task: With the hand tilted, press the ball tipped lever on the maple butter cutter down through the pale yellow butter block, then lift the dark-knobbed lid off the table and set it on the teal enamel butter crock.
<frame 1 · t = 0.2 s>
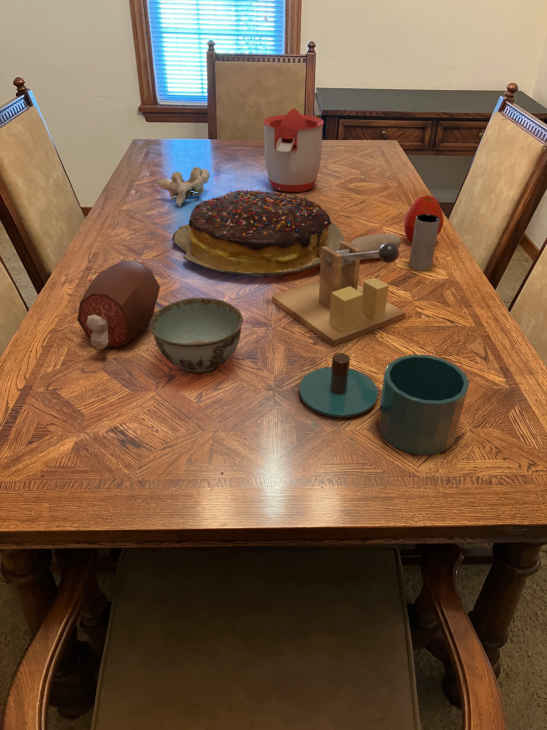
bowl: (200, 364, 89), on the table
ball tipped lever: (363, 255, 92), point 13 cm above the table, hinge at 25.0°
butter: (344, 324, 96), point 1 cm above the table, touching cutter
crock: (416, 428, 77), on the table
cake: (260, 246, 126), on the table
apple: (420, 243, 127), on the table
stone: (372, 258, 121), on the table
meat: (124, 329, 97), on the table
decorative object: (184, 200, 149), on the table
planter: (419, 267, 117), on the table
citrus juicer: (291, 188, 157), on the table
crock lid: (338, 392, 82), point 1 cm above the table
cutter: (336, 309, 103), on the table
butter pat: (372, 314, 99), point 1 cm above the table, touching cutter
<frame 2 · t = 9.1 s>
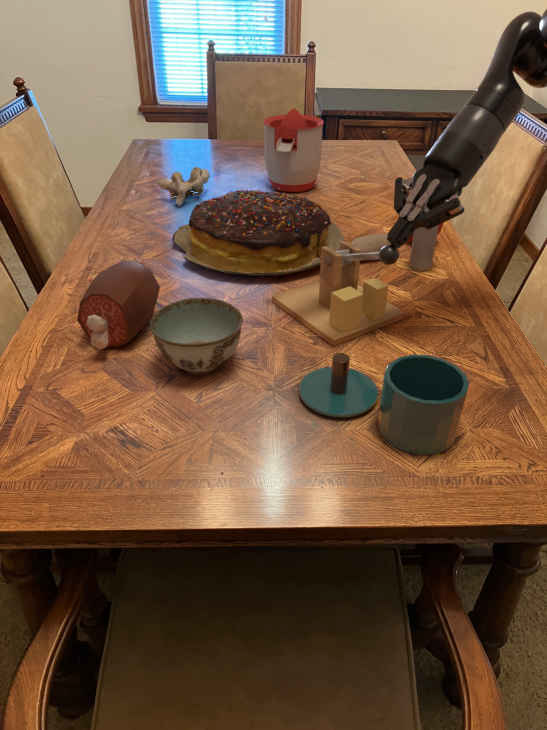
hand: (392, 243, 86), 17 cm above the table, tool tilted 45°, fingers closed
ball tipped lever: (363, 256, 92), point 12 cm above the table, hinge at 23.6°, touching gripper
everything else where it was.
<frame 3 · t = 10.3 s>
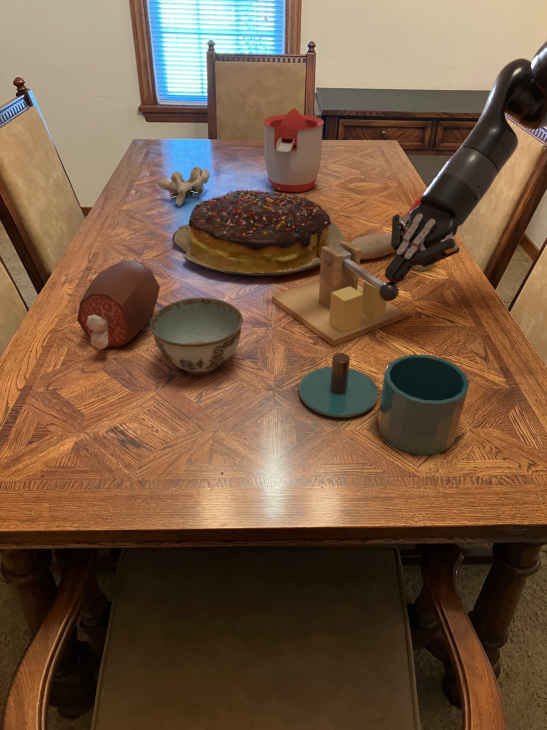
hand: (390, 280, 88), 11 cm above the table, tool tilted 45°, fingers closed
ball tipped lever: (363, 274, 93), point 9 cm above the table, hinge at -4.9°, touching gripper
everything else where it was.
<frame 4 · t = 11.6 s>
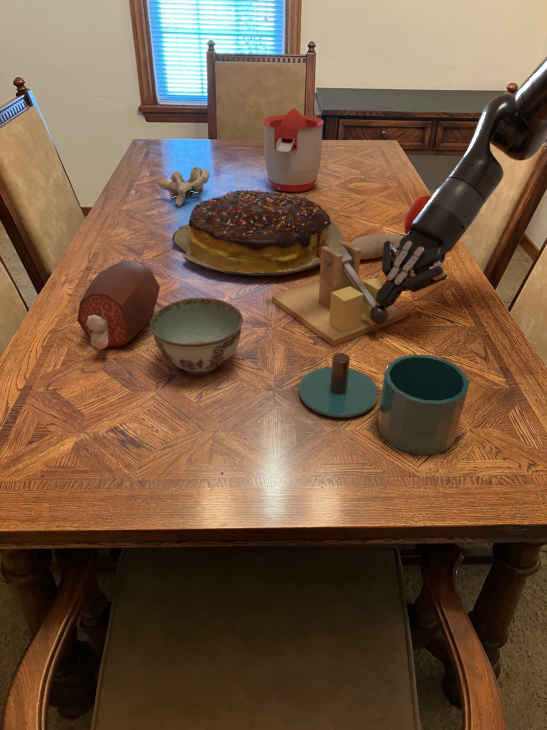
hand: (380, 304, 92), 6 cm above the table, tool tilted 45°, fingers closed
ball tipped lever: (359, 286, 95), point 7 cm above the table, hinge at -29.5°, touching gripper
everything else where it was.
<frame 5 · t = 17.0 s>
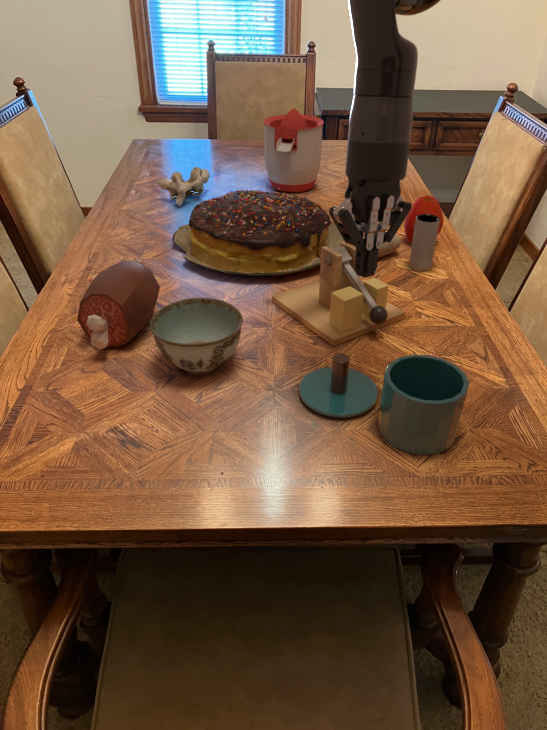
hand: (365, 275, 77), 17 cm above the table, tool pointing down, fingers closed
ball tipped lever: (359, 286, 95), point 7 cm above the table, hinge at -30.3°
everything else where it was.
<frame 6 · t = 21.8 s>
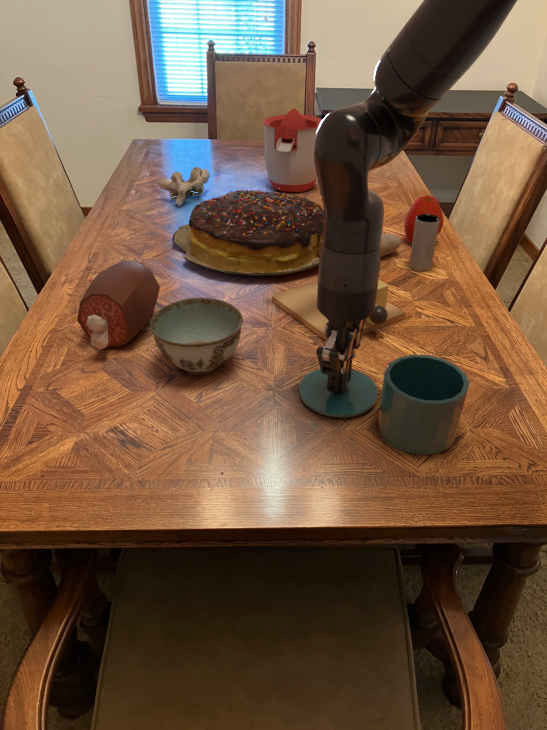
hand: (338, 385, 82), 2 cm above the table, tool pointing down, fingers closed on crock lid, 2 cm apart
crock lid: (338, 392, 82), point 1 cm above the table, touching gripper
everything else where it was.
when the fingers open (10 cm above the table, at t = 27.3 s): crock lid stays where it is, resting on crock.
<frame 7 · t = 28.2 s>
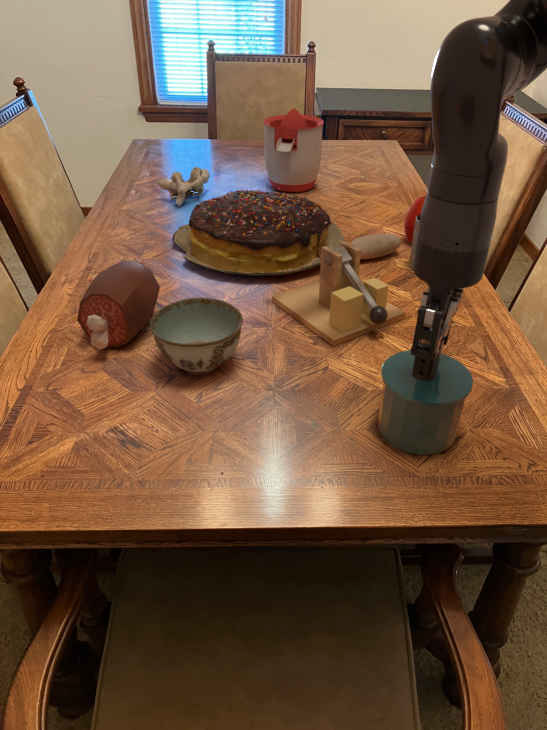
hand: (430, 359, 70), 11 cm above the table, tool pointing down, fingers open, 8 cm apart
crock lid: (426, 377, 72), point 8 cm above the table, touching crock
everything else where it was.
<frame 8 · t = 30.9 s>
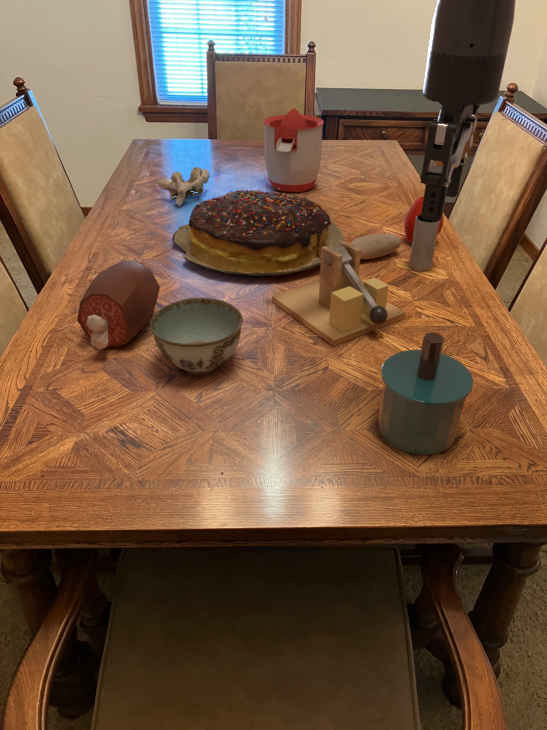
hand: (439, 206, 66), 28 cm above the table, tool pointing down, fingers open, 8 cm apart
nothing on the table moved.
at the end: ball tipped lever at -30° (first picture: +25°); butter pat moved 0.0 cm from its start; crock lid 0.0 cm off-centre on the crock, point 8.5 cm above the crock's base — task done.
